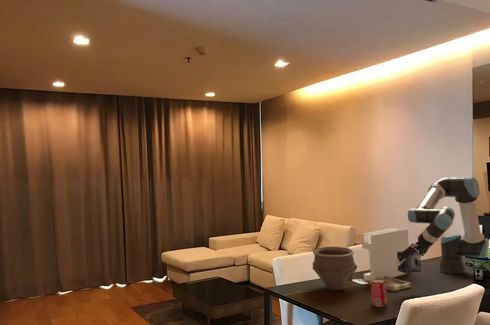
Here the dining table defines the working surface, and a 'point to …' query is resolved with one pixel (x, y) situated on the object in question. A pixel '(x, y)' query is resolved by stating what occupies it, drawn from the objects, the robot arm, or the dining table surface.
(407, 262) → the small box
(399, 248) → the block
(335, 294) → the dining table surface
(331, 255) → the planter
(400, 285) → the tray
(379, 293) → the soda can
